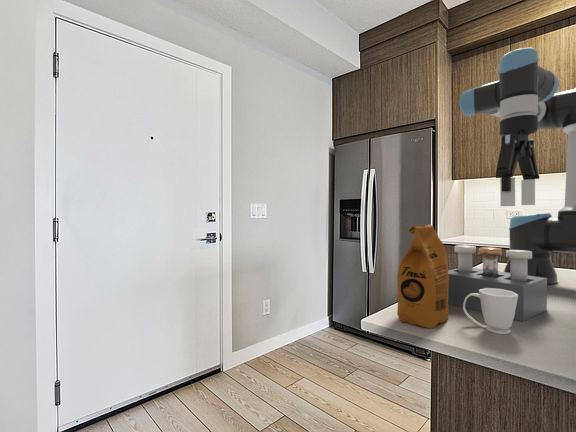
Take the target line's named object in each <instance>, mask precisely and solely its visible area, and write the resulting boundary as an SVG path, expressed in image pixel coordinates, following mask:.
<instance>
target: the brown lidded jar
mask: <svg viewBox="0 0 576 432" xmlns="http://www.w3.org/2000/svg"><path fill="white" fill-rule="evenodd" d="M478 254H479V255H481V256H482V269H483V276H487V277H493V278H498V271H499V257H500V256H503V248H499V247H479V248H478Z"/></svg>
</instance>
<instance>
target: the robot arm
mask: <svg viewBox="0 0 576 432" xmlns="http://www.w3.org/2000/svg"><path fill="white" fill-rule="evenodd" d="M537 50H538V49H536V48H533V47H523V48H518V49H515V50H511V51H510V52H508V53H506V54H504V55H503V56H502V57H501V58H500V60H499V67H498V69H499V71H498V77H499V78H498V79H499V80H496V81H493V82H490V83H486V84H483V85H480V86H476V87H473V88H471V89H468V90H466V91H464V92H462V94H461V95H460V97H459V108H460V112H461V113H462V114H463V115H464V116H465V117H471V116H476V115H481V114H483V115H489V116H492V117H497V118H500V121H499V135H500V136H501V145H500V149H499V155H498V160H497V165H496V170H495V179H500V181H499V182H500V190H499V191H500V207H516V177H515V176H514V174H515V173H516V169H517V164H518V166H519V169H520V173H521V176H522V180H521V181H520V183H521V185H520V188H521V191H520V192H521V206H535V205H536V180H539V179H540V174H539V171H538V166H537V165H538V164H537V158H536V152H535V142H534V141H535V140H534V139H529V136H530V134H535V133H536V132H538V130H539V129H541V130H552V129H561V128H562V132H563V133H565V134H566V135H567V146H566V147H567V149H566V152H567V153H566V169H565V172H566V173H565V187H564V188H565V190H564V192H565V194H564V206H562V208H561V209H559V210H558V212H557V217H554V216H552V214H551V213H550V212H545V213H534V214H533V213H532V214H524V215H516V216H512V217H511V218H510V221H509V228H508V230H509V250H525V251H532V259H528V262H527V275H528V276H535V277H542V278H547V285H551V284H557V283H558V275H557V272H556V269H555V267H554V264H553V262H552V257H551V255H552V252H553V253H563V254H575V255H576V88H574V89H570V90H565V91H560V92H557V91H558V90H559V86H560V82H559V79H558V77H557V76H556V74H554V73H553V72H552V71H550V70H547V69H545V68H544V67H542V66H540V65H539V61H540V59H539V56H538V51H537ZM513 176H514V177H513ZM510 270H511V258H509V257H508V260H507V262H506V265H505V268H504V270H503V272H506V273H510Z"/></svg>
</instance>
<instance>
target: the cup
mask: <svg viewBox="0 0 576 432" xmlns="http://www.w3.org/2000/svg"><path fill="white" fill-rule="evenodd" d="M469 296H476V297H479V298H480V301H481V307H482V311H481V313H482V316H483V319H484V322H485V324H486V325H485V324H482V323H481V322H478V321H477V320H476V319H475V318H474V317H472V316H471V315H470V314H469V313H468V311H467V309H466V307H465V303H466V300H467V298H468V297H469ZM517 299H518V294H516V293H514V292H513V291H508V290H503V289H493V288H485V289H480V290H479V294H478V293H471V294H469V295H468V296H467V297H466V298H465V300H464V303H463V307H462V309H463V313H464V314H465V315H466V317H467V318H468V319H470V321H472V322H473V323H474V324H476V325H478V326H479V327H481V328H482V329H486V330H487V331H489V332H491V333H495V334H502V335H508V334H509V333H511V330H510V329H509V328H511V327H512V324H513V322H514V320H515V319H514V315H515V309H516V304H517Z"/></svg>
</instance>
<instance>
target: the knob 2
mask: <svg viewBox="0 0 576 432" xmlns="http://www.w3.org/2000/svg"><path fill="white" fill-rule="evenodd" d="M505 253H506V254H505V256H506V258H508V259H509V258H511V270H510V280H512V281H519V282H525V283H527V262H528V259H532V251H525V250H510V249H506V250H505Z"/></svg>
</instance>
